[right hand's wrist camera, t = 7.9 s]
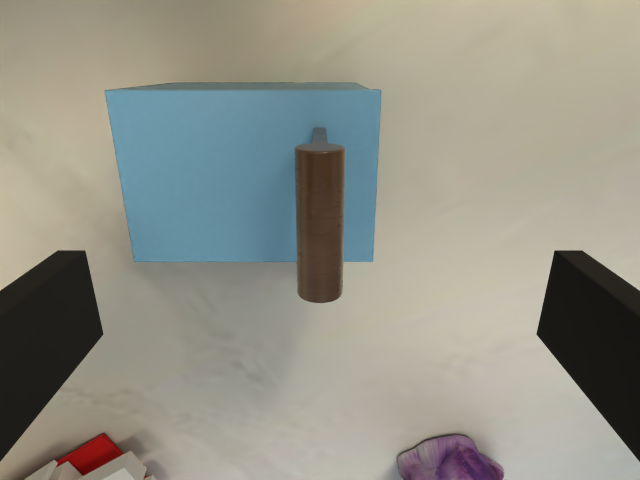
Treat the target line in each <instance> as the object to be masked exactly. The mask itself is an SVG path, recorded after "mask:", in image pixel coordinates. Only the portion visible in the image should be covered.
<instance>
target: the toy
mask: <svg viewBox="0 0 640 480" xmlns="http://www.w3.org/2000/svg"><path fill="white" fill-rule="evenodd" d="M146 469H147V468H146V467H145V466H144V464H143V463H142V462H141V461H140V460H139V459H138V458H137V457H136V456H135V455H134V454H133V452H132V451H131V450H130V451H129V452H127V453H125V454H123V453H122V452H121V451H120V449H119V448H118V447H117V446H116V445H115V444H114V443H113V442H112V441H111V440H110V439H109V438H108V437H107V436H106V435H105V434H104V433H103V434H102V435H100V436H98V437H97V438H95V439H93V440H92V441H90V442H88V443H87V444H85V445H83V446H82V447H80V448H78V449H76V450H75V451H73V452H71V453H70V454H68V455H66V456H65V457H63V458H61V459H60V460H58V461H55V460H53V461H51V462H50V463H48V464H47V465H45V466H44V467H42V468H41V469H39V470H38V471H36V472H35V473H33V474H32V475H30V476H29V477H27V478H26V479H24V480H157V479H156V478H155V476H154V475H153V474H152V475H150V476H149V477H146V476H145V472H146Z"/></svg>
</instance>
